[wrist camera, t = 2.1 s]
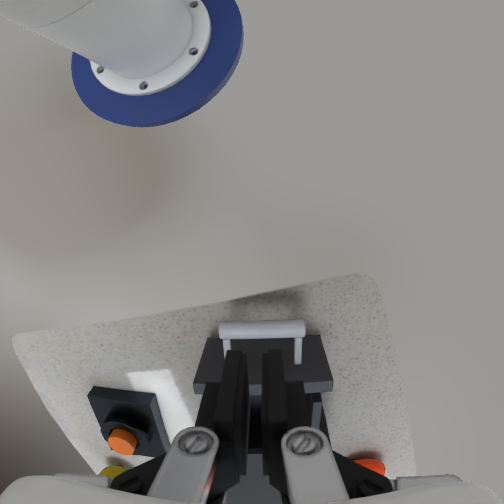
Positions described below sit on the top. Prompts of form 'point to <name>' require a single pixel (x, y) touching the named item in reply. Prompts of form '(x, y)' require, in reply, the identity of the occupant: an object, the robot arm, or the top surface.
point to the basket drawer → (254, 344)
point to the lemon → (112, 471)
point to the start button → (122, 441)
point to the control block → (131, 418)
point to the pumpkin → (372, 465)
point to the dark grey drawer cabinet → (260, 478)
